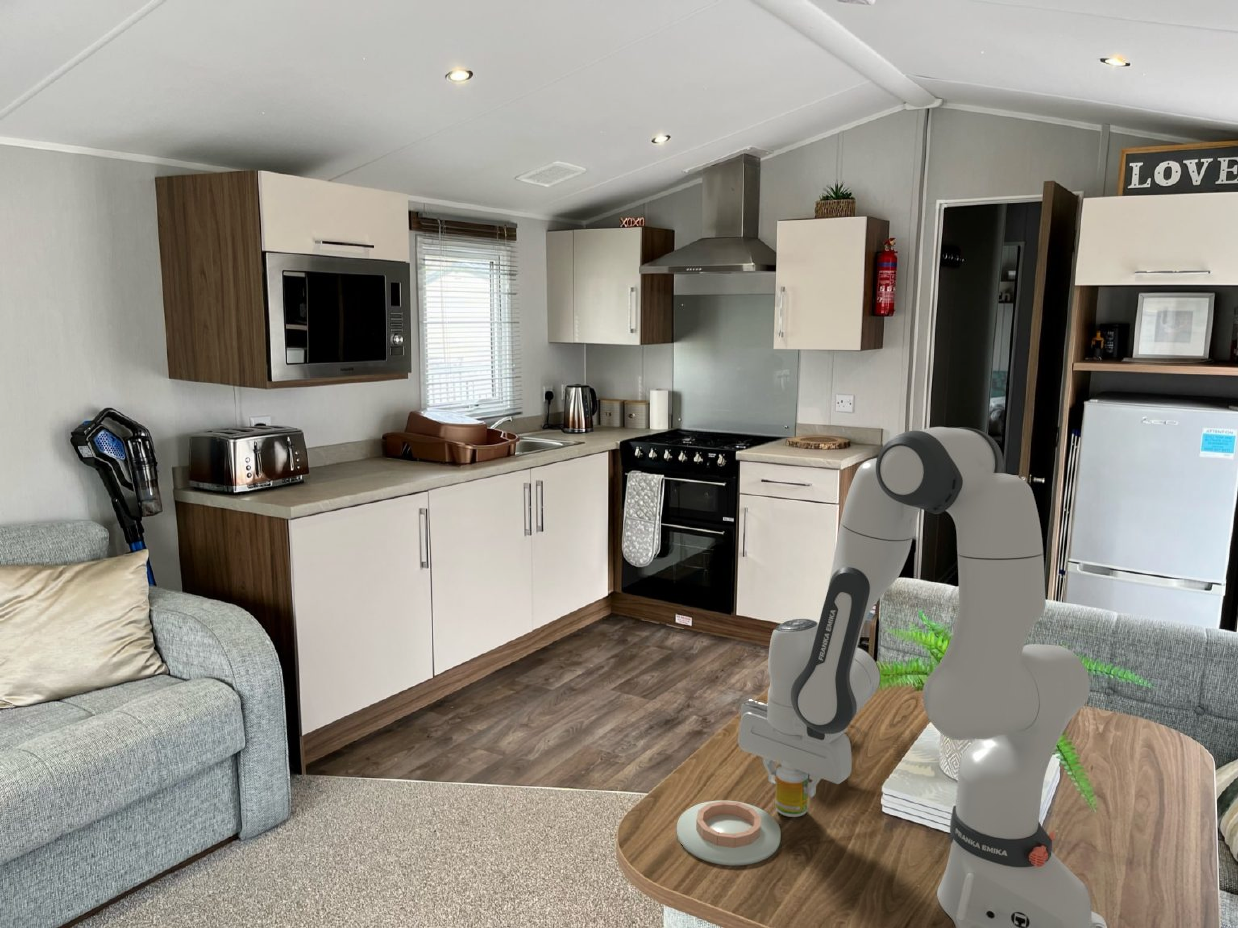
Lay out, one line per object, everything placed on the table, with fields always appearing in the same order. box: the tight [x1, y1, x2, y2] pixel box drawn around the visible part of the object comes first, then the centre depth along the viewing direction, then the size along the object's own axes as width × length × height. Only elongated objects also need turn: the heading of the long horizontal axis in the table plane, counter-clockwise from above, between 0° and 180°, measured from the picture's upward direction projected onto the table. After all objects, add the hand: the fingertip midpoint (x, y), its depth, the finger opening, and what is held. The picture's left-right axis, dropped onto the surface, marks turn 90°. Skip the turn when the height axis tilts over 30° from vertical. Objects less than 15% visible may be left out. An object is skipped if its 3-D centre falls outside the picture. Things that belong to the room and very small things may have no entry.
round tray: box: [676, 800, 782, 867], centre depth 152 cm, size 17×17×3 cm
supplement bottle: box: [775, 760, 809, 818], centre depth 158 cm, size 5×5×10 cm
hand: (791, 788), depth 158 cm, fingers closed on supplement bottle, 5 cm apart
